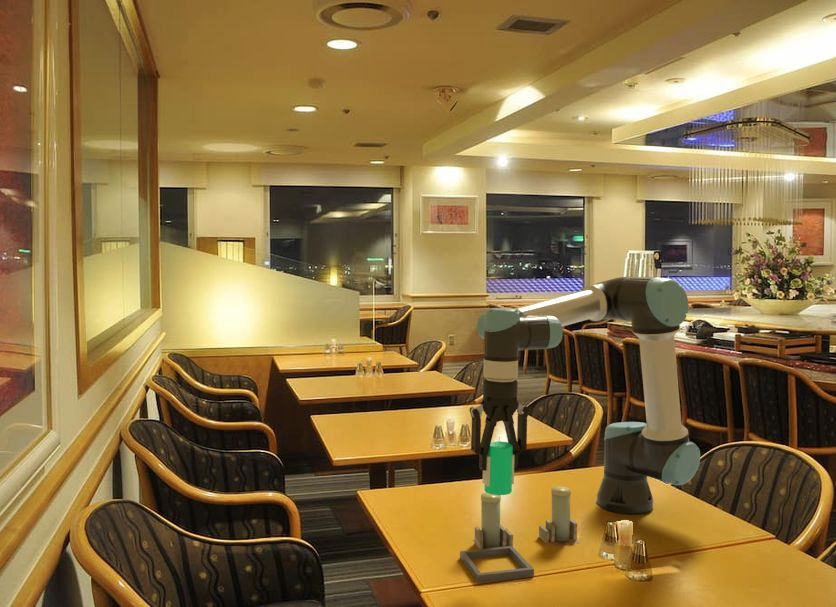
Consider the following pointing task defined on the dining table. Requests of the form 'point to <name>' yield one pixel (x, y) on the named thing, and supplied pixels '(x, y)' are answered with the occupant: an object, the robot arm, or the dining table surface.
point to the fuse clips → (544, 534)
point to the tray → (496, 575)
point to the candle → (500, 468)
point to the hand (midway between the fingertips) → (498, 483)
